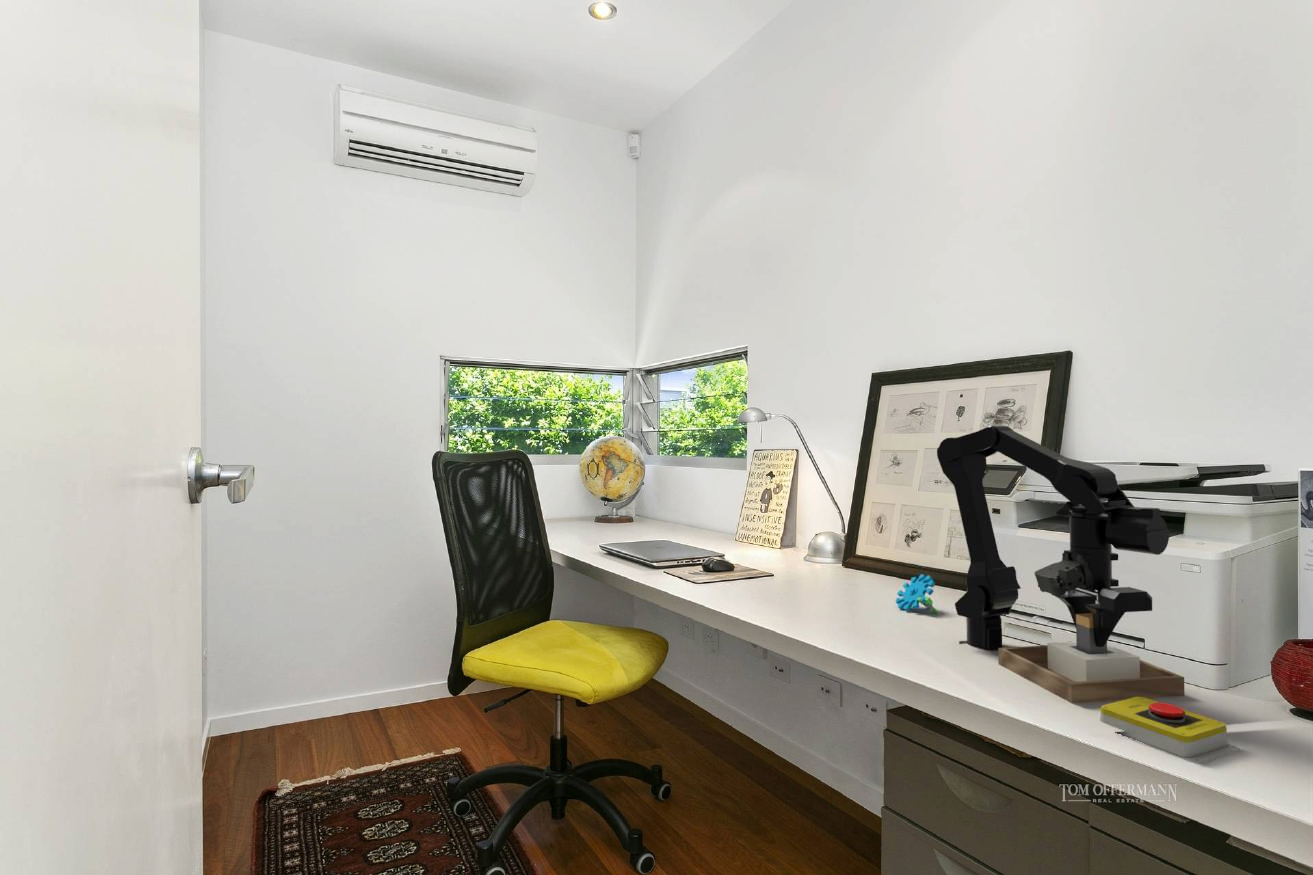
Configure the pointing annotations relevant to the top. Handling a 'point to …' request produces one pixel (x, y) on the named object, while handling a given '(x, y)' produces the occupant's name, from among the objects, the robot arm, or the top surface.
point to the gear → (916, 593)
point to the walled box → (1035, 669)
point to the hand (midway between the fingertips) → (1091, 643)
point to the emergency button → (1169, 729)
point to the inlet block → (1092, 663)
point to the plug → (1087, 635)
